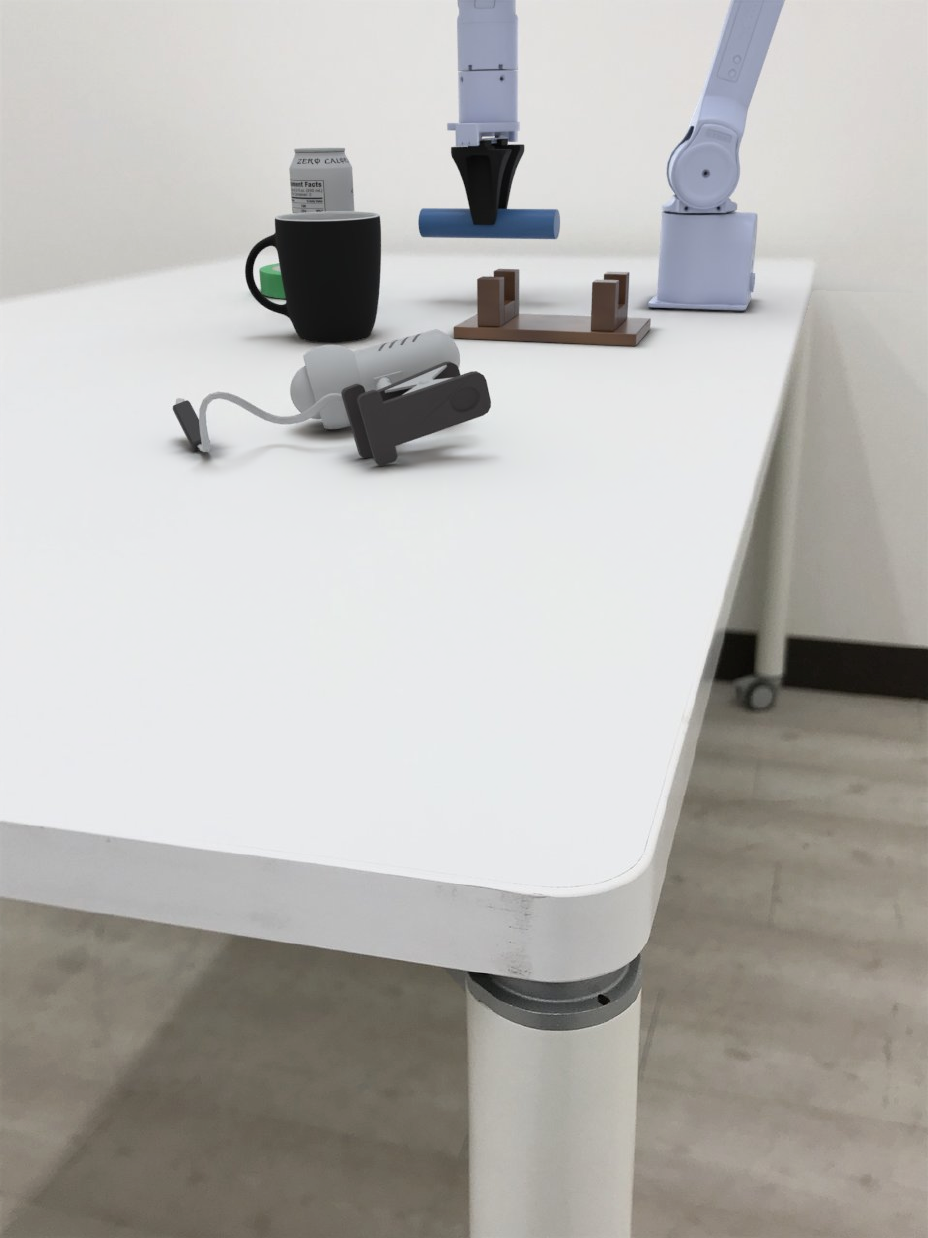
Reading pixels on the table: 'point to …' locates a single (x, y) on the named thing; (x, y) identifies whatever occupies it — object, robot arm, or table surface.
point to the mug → (325, 273)
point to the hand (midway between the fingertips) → (488, 222)
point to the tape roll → (271, 281)
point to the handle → (505, 226)
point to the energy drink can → (321, 180)
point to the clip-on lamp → (371, 394)
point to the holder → (506, 323)
